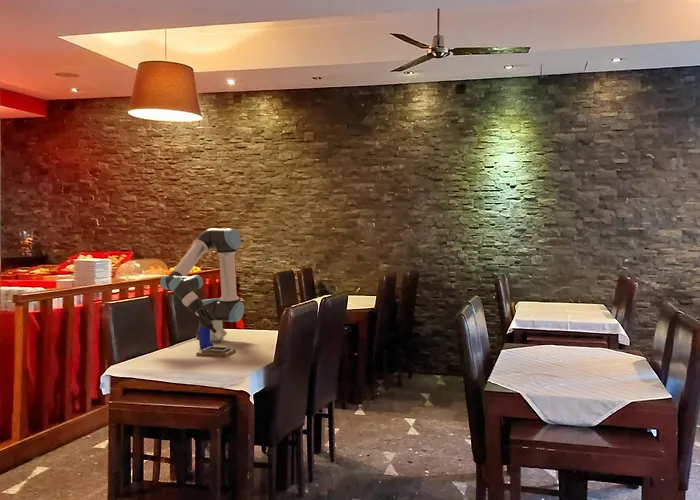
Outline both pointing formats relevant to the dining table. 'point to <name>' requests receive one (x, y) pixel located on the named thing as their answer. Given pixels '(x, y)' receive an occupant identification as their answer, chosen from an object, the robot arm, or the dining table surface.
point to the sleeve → (219, 326)
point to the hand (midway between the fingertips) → (223, 336)
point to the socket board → (216, 351)
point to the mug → (204, 338)
